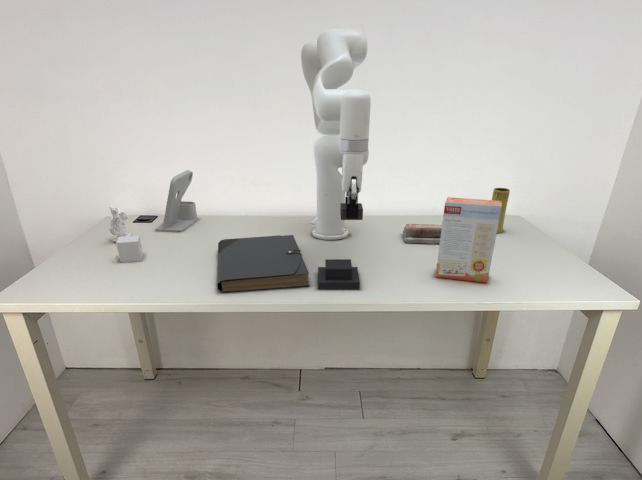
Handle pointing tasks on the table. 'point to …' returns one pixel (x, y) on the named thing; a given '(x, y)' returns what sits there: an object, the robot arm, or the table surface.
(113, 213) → the white figurine
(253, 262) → the dark grey book
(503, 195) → the vase
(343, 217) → the grey pad
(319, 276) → the base pad
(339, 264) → the charcoal pad
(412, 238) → the packaged product
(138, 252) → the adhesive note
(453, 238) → the cracker box
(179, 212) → the phone holder
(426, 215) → the table surface
